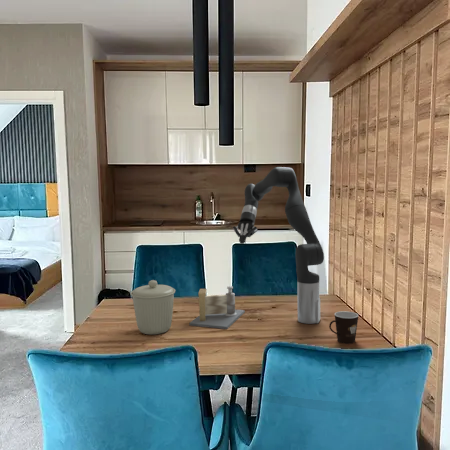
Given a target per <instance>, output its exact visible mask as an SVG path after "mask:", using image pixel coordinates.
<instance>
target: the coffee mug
mask: <svg viewBox="0 0 450 450" xmlns="http://www.w3.org/2000/svg"><path fill="white" fill-rule="evenodd" d="M358 321H359V313H356V312H353V311H349V310H348V311H345V310H343V311H341V310H340V311H337V312H334V320H331V321H330V322H329V324H328V326H329V330H330V331H331V332H332V333H333V334H335V335H336V339H337V342H338V343H341V344H346V345H347V344H349V345H351V344H353V343H355V342H356V339H357V338H356V337H357V329H358ZM333 323H335V330H336V331H335V330H334V329H332V324H333Z"/></svg>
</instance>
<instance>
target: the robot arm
mask: <svg viewBox="0 0 450 450" xmlns="http://www.w3.org/2000/svg"><path fill="white" fill-rule="evenodd" d="M273 187H279V188H286V189H287V190H288V198H287V201H286V203H285V205H284V212H285V213H284V214H285V216H286V219H287V222H288V223H289V225H290V227H291V228H293V230H295V231H296V232H297V233H298V234H299V235H300V236H301V237H302V238H303V239H304V240H305V242H306V243H301V244H298V245H297V247H296V248H295V266H296V267H295V270H296V277H297V278H296V279H297V283H296V284H297V321H298V322H299V323H302V324H307V325H308V324H309V325H310V324H319V322H321V321H320V320H321V298H320V275H319V274H318V273H316V272H312V271H310V270H309V266H318V265H319V266H320V265H322V264H323V262H324V260H325V254H324V250H323V247H322V245H321V242H320V241H319V238H318V237H317V235H316V232H315V230H314V227H313V225H312V223H311V220H310V216H309V213H308V210H307V207H306V206H305V203H304V201H303V198H302V194H301V192H300V188H299V184H298V180H297V176H296V173H295V171H294V169H293V168H292V167H285V166H283V167H282V166H277V167H274V168H272V169H270V171H269V172H268V173H267V175H266V176H265V177H264V178H263V179H262V180H260V181H258V182H257V183H255V184H253V183H248V184H247V185H246V186H245V188H244V206H243V208H242V211H241V214H240V218H239V222H238V224H237V226H233V227H232V228H233V231H234V233H235V234H236V236H237V237H238V238H239V239H238V241H239V244H240V245H243V244H245V243H246V240H247V238H251V237H252V236H253V235H255V234H256V233H257V232H258V227H257V226H255V223H256V218H257V213H258V207H259V201H261V200H262V199H264V196H265V195H266V194H268V193H269V192H271V191H272V189H273ZM239 231H240V232H239Z"/></svg>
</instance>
